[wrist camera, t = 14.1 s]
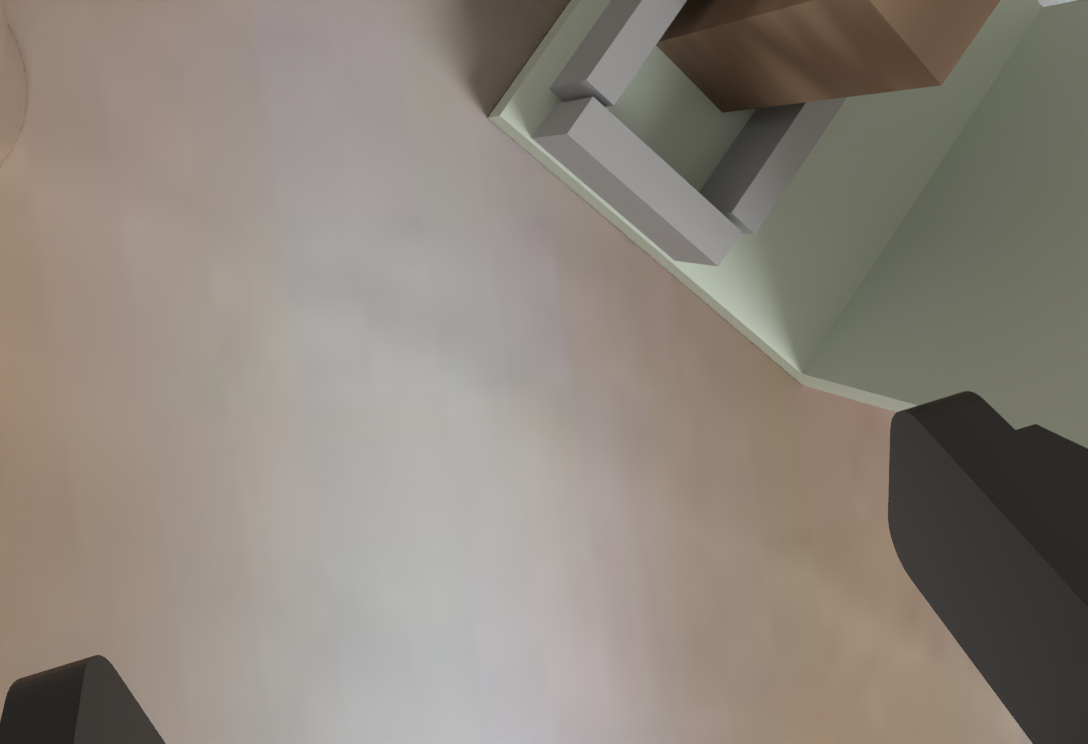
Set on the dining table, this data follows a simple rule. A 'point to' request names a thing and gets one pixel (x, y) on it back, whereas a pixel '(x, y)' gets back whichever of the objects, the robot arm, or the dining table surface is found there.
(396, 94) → the dining table surface
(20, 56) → the beer glass
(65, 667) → the robot arm
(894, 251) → the sage green display stand
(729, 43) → the brown wooden block
